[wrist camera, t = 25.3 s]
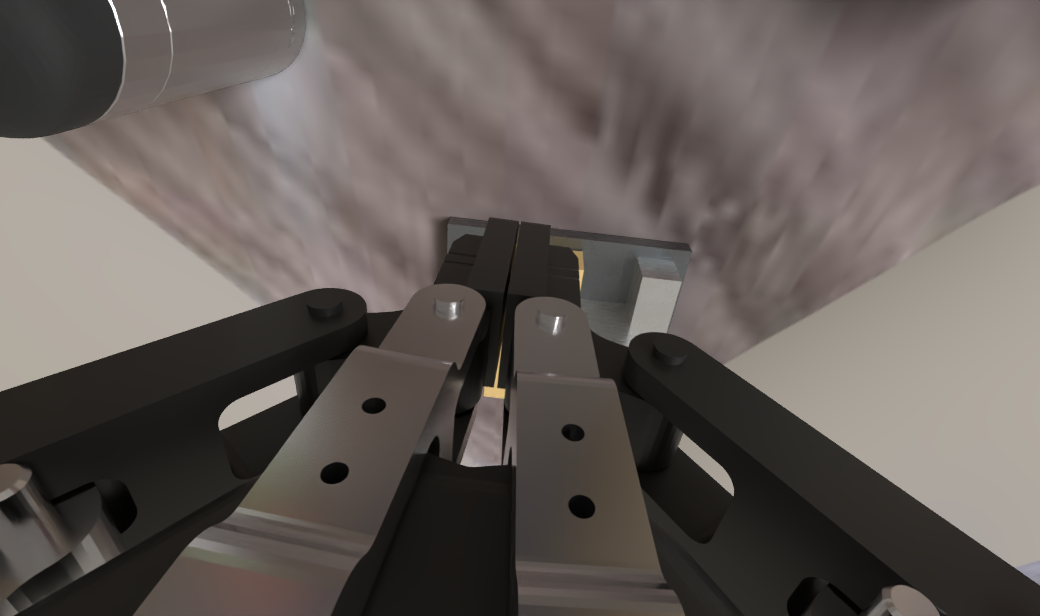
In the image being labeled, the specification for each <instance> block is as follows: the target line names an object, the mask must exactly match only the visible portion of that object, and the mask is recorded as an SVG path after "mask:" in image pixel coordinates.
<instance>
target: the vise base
mask: <svg viewBox="0 0 1040 616" xmlns="http://www.w3.org/2000/svg"><path fill="white" fill-rule="evenodd" d="M487 223H488V221H482V220H474V219H465V218H456V217H451V218H450V220H449V222H448V231H447V254H448V252H449V250H450V247H451V245H452V243H453V241H455V240H457V239H458V238H460V237H461V236H463V235H465V234H471V235H478V236H483V235H484V232H485V229H486V226H487ZM520 226H521V225H519V228H518V237H519V232H520ZM518 237H517V242H518ZM549 245H555V246H562V247H569V248H570V249H571V250H573V251H582V252H583V264H584V273H583V278H582V284H581V290H580V297H581V299H587V300H595V301H604V302H613V303H621V304H626V307H627V312H628V318H629V323H630V328H631V333H632V338H634V337H635V336H637V335H639V334H642V333H647V332H661V333H668V330H669V327H670V323H671V320H672V317H673V313H674V310H675V307H676V303H677V300H678V297H679V294H680V290H681V287H682V284H683V280H684V277H685V274H686V270H687V267H688V264H689V260H690V257H691V254H692V251H691V249H690V246H689V244H684V243H675V242H666V241H658V240H649V239H640V238H631V237H623V236H614V235H605V234H596V233H587V232H579V231H570V230H561V229H552V228H550V244H549Z"/></svg>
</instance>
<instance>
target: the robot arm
mask: <svg viewBox="0 0 1040 616" xmlns="http://www.w3.org/2000/svg"><path fill="white" fill-rule="evenodd" d="M305 29H306V21H305V9H304V4H303V0H0V137H6V138H37V137H43V136H49V135H53V134H57V133H61V132H65V131H69V130H72V129H76V128H79V127H83V126H86V125H89V124H92V123H96V122H100V121H103V120H107V119H111V118H115V117H118V116H122V115H126V114H129V113H133V112H137V111H139V110H143V109H147V108H151V107H154V106H158V105H162V104H166V103H169V102H173V101H177V100H181V99H185V98H188V97H192V96H196V95H200V94H203V93H207V92H211V91H215V90H219V89H222V88H226V87H230V86H234V85H237V84H242V83H246V82H249V81H253V80H257V79H261V78H264V77H268V76H271V75H274V74H276V73H279V72H281V71H283V70H284V69H285V68H287V67H288V66H289V65H290V64H291V63H292V62H293V61H294V59H295V58H296V57H297V55H298V54H299V51H300V49H301V46H302V44H303V41H304V35H305ZM518 228H519V221H514V220H506V219H499V218H491V217H490V218H489V220H488V223H487V226H486V229H485V232H484V235H483V236H478V235H471V234H465V235H463V236H461V237H460V238H458V239H457V240H455V241H453V243H452V245H451V247H450V250H449V252H448V254H447V256H446V258H445V261H444V263H443V265H442V267H441V269H440V272H439V274H438V276H437V278H436V280H435V282H434V285H431V286H428V287H425V288H423V289H421V290H419V291H418V292H416V293H415V294H414V295H413V297H412V298H411V300H410V301H409V303H408V304H407V306H406V307H405V309H404V310H400V311H394V312H380V313H367V305H366V302H365V300H364V299H363V298H362V297H361V296H360V295H358V294H357V293H354V292H352V291H349V290H345V289H338V288H323V289H315V290H311V291H307V292H304V293H301V294H298V295H294V296H291V297H288V298H285V299H282V300H279V301H276V302H273V303H270V304H267V305H264V306H261V307H258V308H255V309H252V310H249V311H246V312H243V313H239V314H236V315H234V316H230V317H227V318H224V319H221V320H218V321H215V322H212V323H209V324H206V325H203V326H200V327H197V328H194V329H191V330H188V331H185V332H182V333H179V334H175V335H172V336H170V337H167V338H163V339H160V340H157V341H154V342H151V343H148V344H145V345H142V346H139V347H136V348H133V349H130V350H127V351H124V352H120V353H117V354H114V355H111V356H108V357H105V358H102V359H99V360H96V361H93V362H90V363H87V364H84V365H81V366H78V367H75V368H71V369H68V370H66V371H63V372H59V373H56V374H53V375H50V376H47V377H44V378H41V379H38V380H35V381H32V382H29V383H26V384H23V385H20V386H17V387H14V388H11V389H7V390H4V391H1V392H0V616H1040V585H1038V584H1037V583H1035V582H1034V581H1033V580H1031V579H1030V578H1028V577H1027V576H1025V575H1024V574H1022V573H1021V572H1020V571H1018V570H1017V569H1015V568H1014V567H1012V566H1011V565H1010V564H1008V563H1007V562H1005V561H1004V560H1002V559H1001V558H1000V557H998V556H997V555H995V554H994V553H992V552H991V551H989V550H988V549H987V548H985V547H984V546H982V545H980V544H979V543H978V542H977V541H975V540H974V539H972V538H971V537H969V536H968V535H966V534H965V533H964V532H962V531H960V530H959V529H958V528H956V527H955V526H954V525H952V524H950V523H949V522H948V521H946V520H945V519H944V518H942V517H941V516H939V515H938V514H936V513H935V512H933V511H932V510H930V509H929V508H928V507H926V506H925V505H923V504H922V503H921V502H919V501H917V500H916V499H915V498H913V497H912V496H910V495H909V494H908V493H906V492H905V491H903V490H902V489H900V488H899V487H898V486H896V485H894V484H893V483H892V482H890V481H889V480H888V479H886V478H885V477H883V476H882V475H880V474H879V473H877V472H876V471H875V470H873V469H871V468H870V467H869V466H867V465H866V464H865V463H863V462H862V461H860V460H859V459H857V458H856V457H855V456H853V455H852V454H850V453H849V452H847V451H846V450H844V449H843V448H841V447H840V446H839V445H837V444H836V443H834V442H833V441H831V440H830V439H828V438H827V437H826V436H824V435H823V434H821V433H820V432H819V431H817V430H815V429H814V428H813V427H811V426H810V425H808V424H807V423H806V422H804V421H803V420H801V419H800V418H799V417H797V416H795V415H794V414H793V413H791V412H790V411H788V410H787V409H786V408H784V407H783V406H781V405H780V404H778V403H777V402H776V401H774V400H773V399H771V398H770V397H768V396H767V395H765V394H764V393H763V392H761V391H760V390H758V389H757V388H755V387H754V386H753V385H751V384H750V383H748V382H747V381H745V380H744V379H742V378H741V377H740V376H738V375H737V374H735V373H734V372H732V371H731V370H730V369H728V368H727V367H725V366H724V365H722V364H721V363H720V362H718V361H717V360H715V359H714V358H712V357H711V356H709V355H708V354H707V353H705V352H704V351H702V350H701V349H699V348H698V347H697V346H695V345H694V344H692V343H690V342H689V341H687V340H685V339H683V338H680V337H678V336H675V335H671V334H667V333H661V332H647V333H642V334H639V335H637V336H635V337H634V338H633V339H632V340H631V341H630V344H629V347H627V346H624V345H621V344H618V343H615V342H612V341H610V340H607V339H605V338H603V337H601V336H599V335H598V334H596V333H594V332H593V331H592V330H591V329H590V326H589V321H588V317H587V315H586V314H585V312H584V311H583V310H582V309H581V297H580V281H579V259H578V257H577V256H576V255H575V253H574V252H573V251H572V250H571V249H570V248H569V247H562V246H555V245H549V244H550V228H551V225H545V224H537V223H529V222H521V226H520V232H519V237H518ZM517 237H518V242H517ZM516 245H517V247H516ZM501 346H502V348H501ZM500 351H501V357H500ZM499 357H500V366H499V375H498V384H497V388H501V389H505V396H504V405H503V413H502V422H501V445H500V465H498V466H485V467H467V466H463V465H460V463H461V461H462V458H463V455H464V452H465V448H466V445H467V442H468V439H469V436H470V433H471V430H472V427H473V424H474V420H475V417H476V413H477V403H478V401H479V400H480V397H481V394H482V389H483V386H485V387H492V388H494V384H495V379H496V373H497V368H498V362H499ZM292 375H294V378H295V384H296V390H297V396H294V397H292V398H290V399H288V400H286V401H283V402H282V403H279V404H277V405H275V406H273V407H271V408H269V409H266V410H264V411H262V412H260V413H258V414H256V415H253V416H251V417H249V418H247V419H245V420H243V421H240V422H238V423H236V424H234V425H232V426H230V427H228V428H225V429H223V430H221V431H219V427H218V420H219V417H220V415H221V413H222V412H223V411H224V409H225V408H226V407H227V406H228V405H230V404H231V403H232V402H234V401H235V400H237V399H239V398H241V397H244V396H246V395H248V394H251V393H253V392H255V391H257V390H260V389H262V388H264V387H266V386H269V385H271V384H274V383H276V382H278V381H280V380H282V379H285V378H287V377H290V376H292ZM683 433H684V434H685V435H686V436H687V437H689V438H690V439H691V440H692V441H693V442H694V443H696V444H697V445H698V446H699V447H700V448H701V449H703V450H704V451H705V452H706V453H707V454H708V455H709V456H711V457H712V458H713V459H714V460H715V461H717V462H718V463H719V464H720V465H721V466H722V467H723V468H724V469H725V470H726V472H727V473H728V474H729V476H730V478H731V480H732V483H733V486H734V497H733V496H732V495H731V494H730V493H729V492H728V491H726V490H725V489H724V488H723V487H722V486H721V485H720V484H719V483H718V482H717V481H715V480H714V479H713V478H712V477H711V476H710V475H709V474H708V473H706V472H705V471H704V470H703V469H702V468H701V467H700V466H699V465H697V464H696V463H695V462H694V461H693V460H692V459H691V458H690V457H689V456H687V455H686V454H685V453H684V452H683V451H682V450H681V449H680V448H679V447H678V445H679V442H680V440H681V437H682V435H683Z"/></svg>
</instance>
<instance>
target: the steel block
mask: <svg viewBox="0 0 1040 616" xmlns="http://www.w3.org/2000/svg"><path fill="white" fill-rule="evenodd" d="M581 309H582V310H583V311H584V312H585V314H586V315H587V317H588V321H589V326H590V329H591V330H592V331H593V332H594V333H596V334H598V335H599V336H601V337H603V338H605V339H607V340H610V341H612V342H615V343H618V344H621V345H624V346H627V347H629V344H630V341H631V340H632V339H633V338H632V333H631V328H630V323H629V318H628V312H627V307H626V304H621V303H613V302H604V301H595V300H587V299H581Z"/></svg>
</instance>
